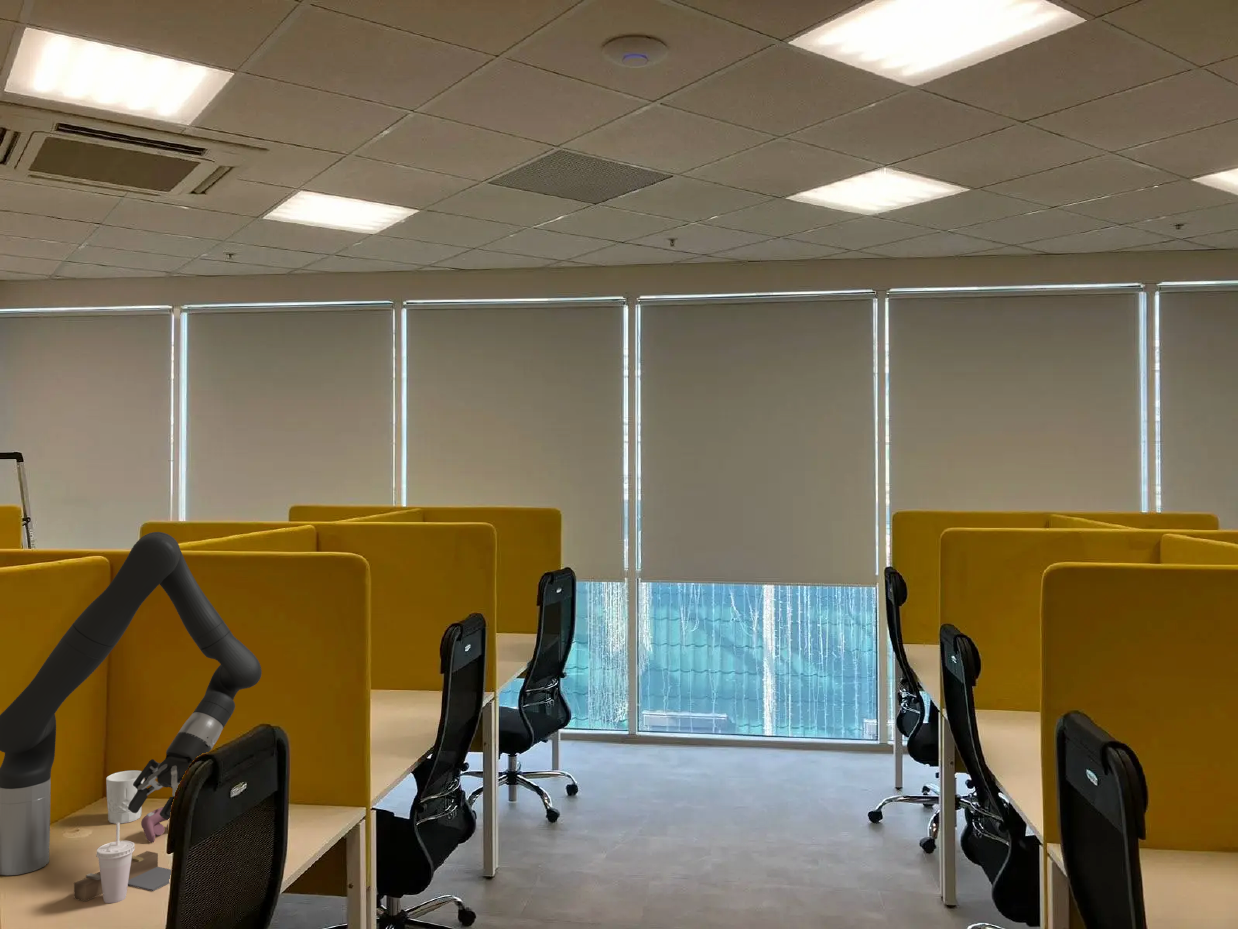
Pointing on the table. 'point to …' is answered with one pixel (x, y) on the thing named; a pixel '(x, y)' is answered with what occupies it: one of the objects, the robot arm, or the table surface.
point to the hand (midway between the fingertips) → (147, 814)
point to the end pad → (151, 879)
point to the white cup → (121, 796)
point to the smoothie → (115, 868)
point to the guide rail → (92, 882)
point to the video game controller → (153, 824)
